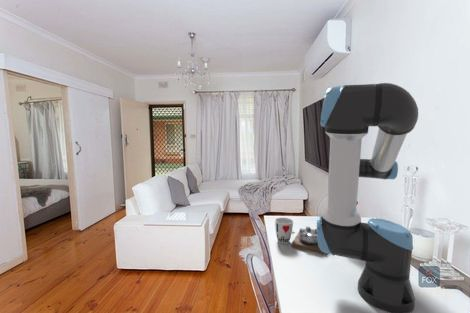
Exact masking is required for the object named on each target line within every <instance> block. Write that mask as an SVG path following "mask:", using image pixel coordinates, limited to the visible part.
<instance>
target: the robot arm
mask: <svg viewBox="0 0 470 313" xmlns="http://www.w3.org/2000/svg"><path fill="white" fill-rule="evenodd" d="M418 120H419V108H418V104H417V102H416V100H415V98H414V97H413V95H412V94H411V93H410V92H409V91H407V89H405V88H403V87H401V86H400V85H397V84H395V83H391V82H380V83H367V84H366V83H365V84H348V85H347V84H346V85H345V84H343V85H337V86H332V87H329V88H328V89H327V90H326V92H325V95H324V99H323V102H322V107H321V113H320V127H322V128H325V130H324V131H325V134H326V135H327V136H328V137H329V156H328V158H329V159H328V160H329V161H328V162H329V163H328V181H327V182H328V183H327V200H326V201H327V202H326V203H327V204H326V205H327V206H326V209H325V210H323V211H322V213H321V215H320V216H318V217H317V219H316V229H317V241H318V246H319V248H320V250H321V251H322V252H324V253H325V254H329V255H331V256H338V257H342V258H348V259H353V260H357V261H360V262H361V261H362V262H365V266H364V269H363V270H362V273H361V274H360V276H359V278H358V280H357V292H358V293H359V295H360V296H361V298H363V300H365V301H366V302H367V303H369V304H371V305H372V306H373V307H376V308H378V309H380V310H384V311H387V312H390V313H410V312H412V311H413V310H414V309H415V304H416V298H415V293H414V290H413V287H412V284H411V281H410V279H411V278H410V275H411V267H412V253H413V249H414V243H413V241H414V240H413V233H411V231H410V230H409V229H408V228H406V227H404V226H403V225H401V224H399V223H397V222H394V221H390V220H387V219H382V218H379V217H378V218H377V217H376V218H375V217H374V218H370V219H368V221H367V222H362V218H361V216H360V215H359V213H357V206H358V204H359V201H358V194H359V193H358V191H359V179H360V178H367V179H368V178H370V179H376V180H377V179H380V180H395V179H396V178H397V177H398V173H399V164H398V161H396V160H397V158H398V155H399V152H400V151H401V148H402V146H403V144H404V141H405V139H406V138H407V135H408V134H409V133H411V132H412V131H413V130H414V129H415V126H416V124H417V122H418ZM369 127H378V131H377V134H376V139H375V142H374V146H373V150H372V155H371V159H368V158H361V152H362V140H363V138H364V137H365V136H367V135H368V134H369Z"/></svg>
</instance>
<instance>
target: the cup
mask: <svg viewBox="0 0 470 313" xmlns="http://www.w3.org/2000/svg"><path fill="white" fill-rule="evenodd" d="M274 222H275V223H274V224H275V225H274V226H275V234H276V238H277V242H278V243H279V244H285V245H286V244H288V243H289V242H290V240H291V239H292V238H291V237H292V234H293V233H292V231H293V227H294V225H293V224H294V220H293V219H291V218H287V217H277V218H275V221H274Z"/></svg>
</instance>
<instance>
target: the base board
mask: <svg viewBox="0 0 470 313" xmlns="http://www.w3.org/2000/svg"><path fill="white" fill-rule="evenodd" d="M291 248H292V249H298V250H301V251H306V252H311V253H315V254H319V255H323V256H325V255H326V253H324V252H322V251H321V250H320V248H319V246H312V245H307V244H304V243H302V242H301V241H300V240H299V232H298V233H297V234H296V236H295V237H294V239H293V240H292V242H291Z"/></svg>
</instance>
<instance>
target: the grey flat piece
mask: <svg viewBox="0 0 470 313" xmlns="http://www.w3.org/2000/svg"><path fill="white" fill-rule="evenodd" d="M298 233H299V240H300V241H301V242H302V243H304V244H307V245H312V246H318V241H317V228H314V229H312V228H311V227H310V226H305V228H299V231H298Z"/></svg>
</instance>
